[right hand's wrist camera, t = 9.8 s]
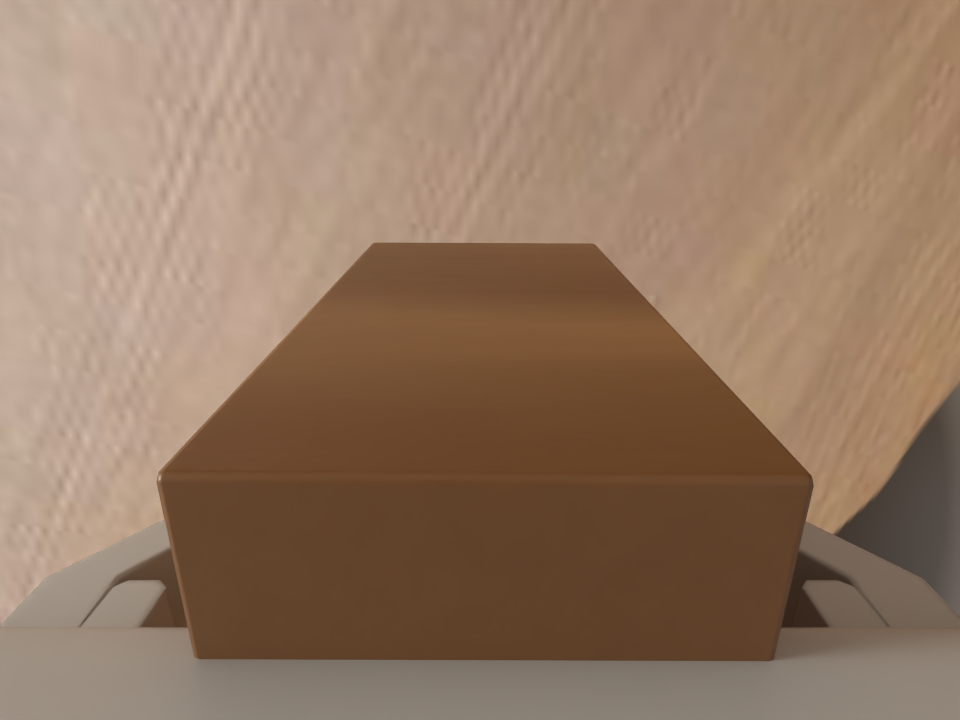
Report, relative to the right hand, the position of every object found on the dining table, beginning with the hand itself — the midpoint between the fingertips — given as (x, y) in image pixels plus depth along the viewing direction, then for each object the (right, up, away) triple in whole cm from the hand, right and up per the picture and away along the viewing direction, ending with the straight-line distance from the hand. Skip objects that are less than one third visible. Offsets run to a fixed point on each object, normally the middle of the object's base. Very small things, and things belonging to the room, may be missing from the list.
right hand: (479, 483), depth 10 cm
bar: (0, -6, +6) cm, 8 cm away
